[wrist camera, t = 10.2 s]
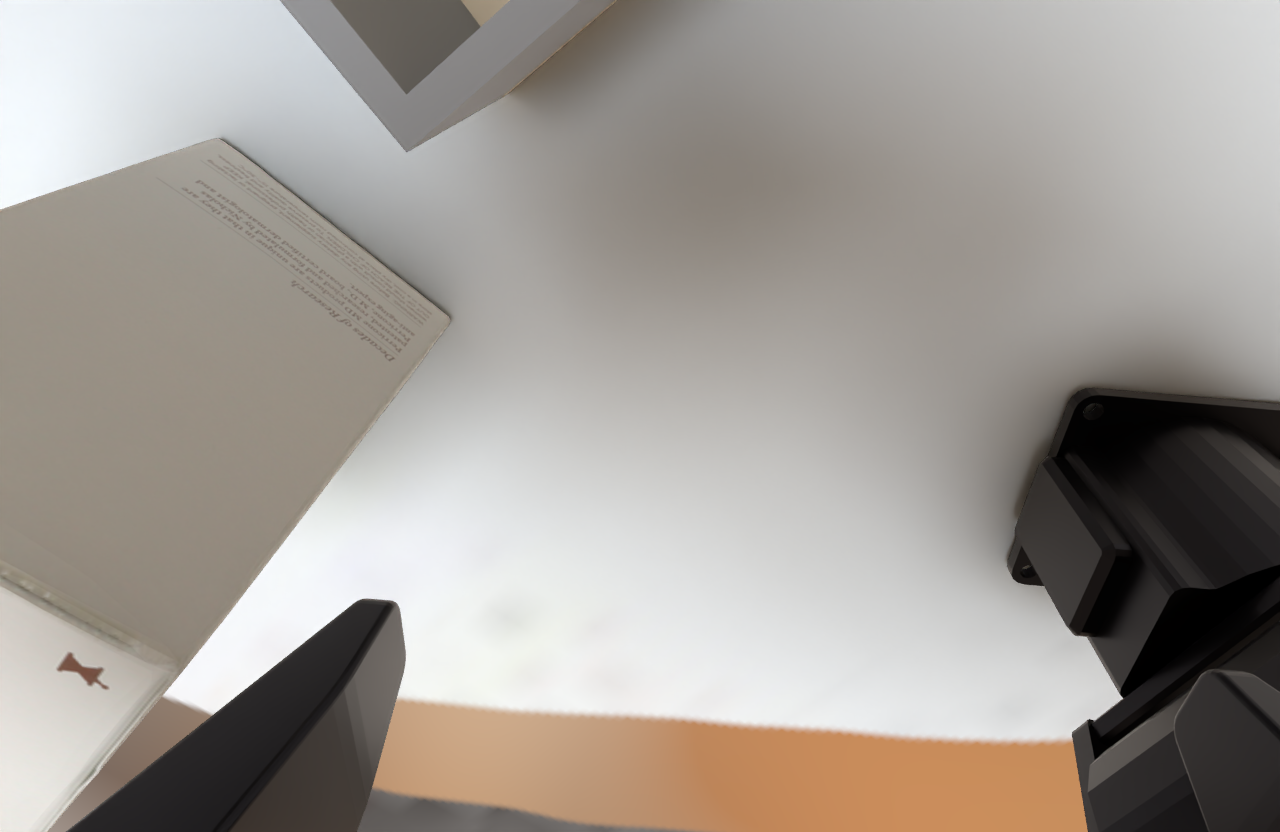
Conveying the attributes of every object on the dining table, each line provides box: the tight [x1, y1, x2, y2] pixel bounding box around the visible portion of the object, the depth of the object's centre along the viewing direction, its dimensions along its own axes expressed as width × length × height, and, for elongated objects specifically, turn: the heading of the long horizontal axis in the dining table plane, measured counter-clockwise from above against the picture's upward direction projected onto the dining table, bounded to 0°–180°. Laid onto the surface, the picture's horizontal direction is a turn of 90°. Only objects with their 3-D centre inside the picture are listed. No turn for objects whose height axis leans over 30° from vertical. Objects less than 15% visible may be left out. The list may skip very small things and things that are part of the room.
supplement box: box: [0, 138, 451, 832], centre depth 16 cm, size 7×7×13 cm
